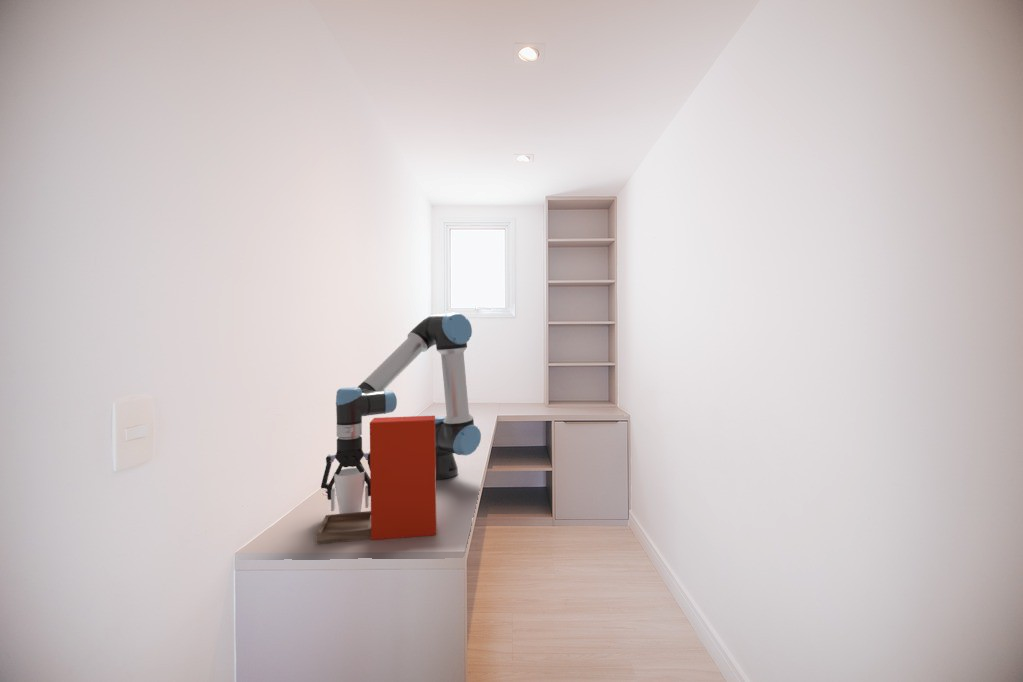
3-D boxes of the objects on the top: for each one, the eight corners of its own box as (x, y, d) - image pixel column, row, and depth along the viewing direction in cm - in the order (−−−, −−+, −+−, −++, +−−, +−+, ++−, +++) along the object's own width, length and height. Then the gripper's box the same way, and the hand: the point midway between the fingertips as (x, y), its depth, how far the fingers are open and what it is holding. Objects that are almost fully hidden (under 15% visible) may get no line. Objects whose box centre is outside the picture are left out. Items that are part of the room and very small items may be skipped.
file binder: (435, 535, 123) (434, 419, 123) (371, 540, 121) (369, 422, 121) (436, 524, 131) (435, 415, 131) (375, 528, 129) (374, 417, 129)
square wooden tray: (326, 523, 133) (325, 515, 133) (375, 518, 136) (375, 510, 136) (316, 544, 119) (316, 534, 119) (371, 538, 122) (371, 529, 122)
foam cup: (358, 505, 148) (357, 466, 148) (371, 512, 141) (370, 471, 141) (329, 513, 141) (328, 472, 141) (341, 521, 134) (341, 478, 134)
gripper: (309, 441, 135) (310, 515, 135) (385, 437, 140) (386, 508, 140) (314, 436, 142) (315, 507, 142) (386, 432, 147) (387, 500, 147)
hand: (350, 507), depth 141 cm, fingers closed on foam cup, 9 cm apart
